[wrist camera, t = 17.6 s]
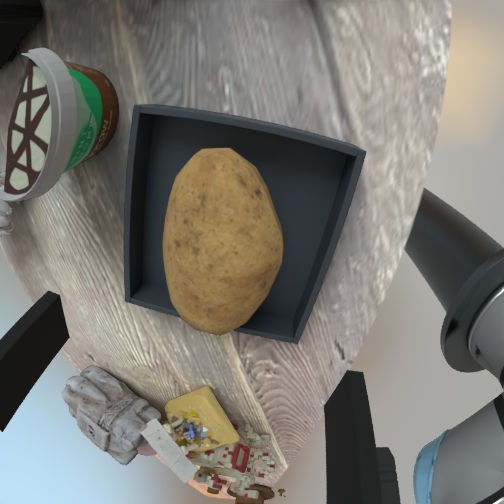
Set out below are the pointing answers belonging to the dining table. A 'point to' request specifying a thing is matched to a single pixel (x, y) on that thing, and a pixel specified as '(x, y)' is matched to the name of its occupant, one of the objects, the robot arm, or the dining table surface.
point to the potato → (220, 241)
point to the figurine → (109, 413)
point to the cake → (190, 430)
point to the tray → (281, 191)
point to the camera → (16, 24)
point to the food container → (56, 123)
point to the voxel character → (233, 463)
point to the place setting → (240, 500)
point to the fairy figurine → (5, 210)
